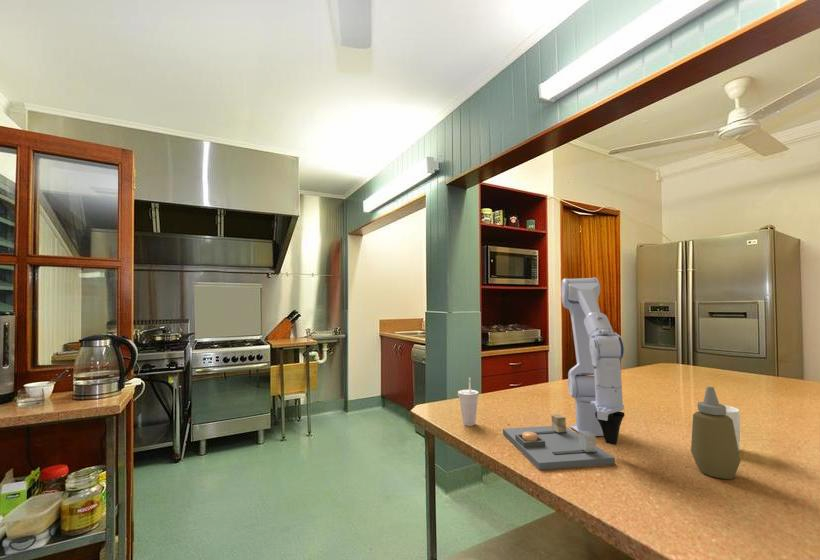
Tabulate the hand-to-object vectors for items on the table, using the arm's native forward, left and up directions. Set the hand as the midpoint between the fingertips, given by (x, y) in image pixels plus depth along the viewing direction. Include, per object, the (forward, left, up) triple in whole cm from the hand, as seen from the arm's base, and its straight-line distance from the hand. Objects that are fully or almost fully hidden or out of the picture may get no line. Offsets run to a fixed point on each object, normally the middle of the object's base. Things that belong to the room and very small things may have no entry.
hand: (611, 443), depth 86 cm
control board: (+11, -7, -3) cm, 13 cm away
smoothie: (+27, -28, -3) cm, 39 cm away
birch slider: (+6, -13, -1) cm, 14 cm away
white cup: (-29, 0, -3) cm, 29 cm away
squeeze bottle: (-16, +11, -3) cm, 20 cm away
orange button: (+17, -7, -1) cm, 19 cm away
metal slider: (+6, 0, -1) cm, 6 cm away
